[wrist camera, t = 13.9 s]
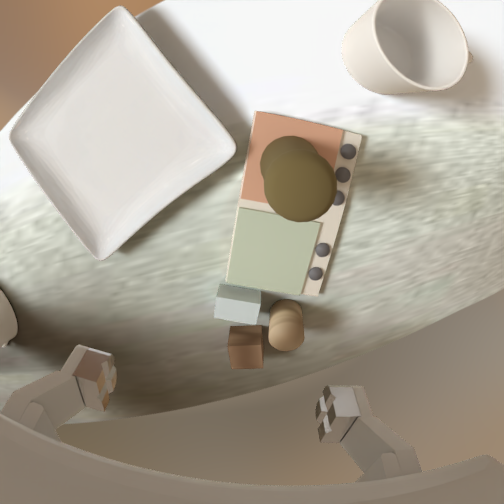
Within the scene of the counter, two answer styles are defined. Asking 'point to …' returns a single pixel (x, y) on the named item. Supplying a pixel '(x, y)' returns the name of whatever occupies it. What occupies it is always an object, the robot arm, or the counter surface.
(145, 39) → the salad plate
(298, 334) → the cork stopper
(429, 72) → the mug
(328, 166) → the pepper shaker
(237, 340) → the walnut cube
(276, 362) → the counter surface
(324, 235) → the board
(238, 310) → the soap box
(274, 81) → the counter surface
